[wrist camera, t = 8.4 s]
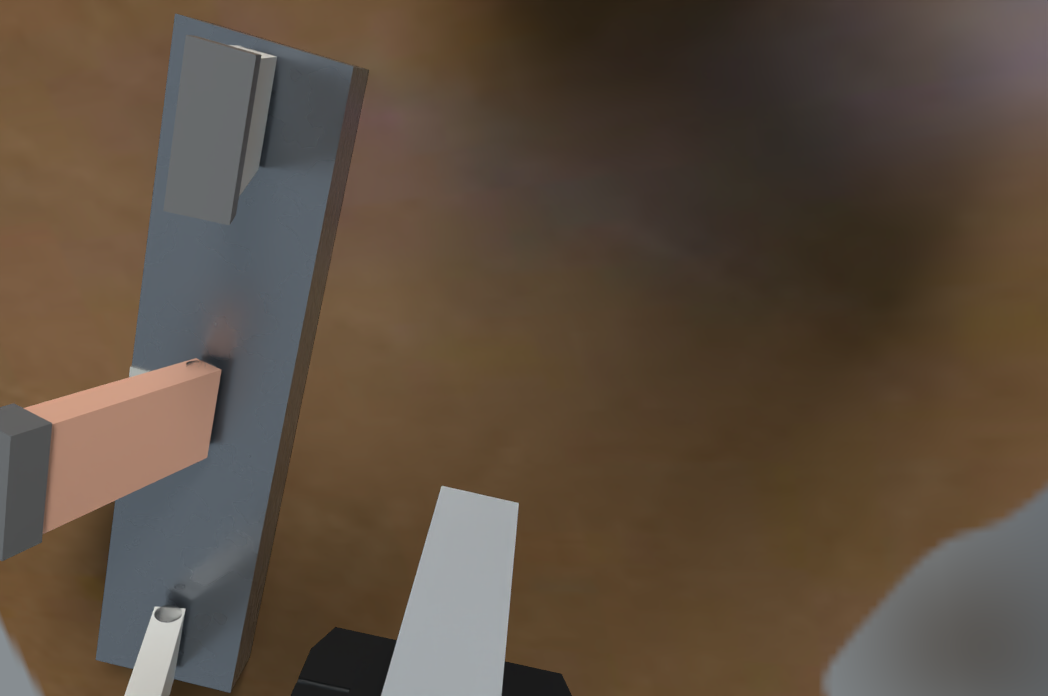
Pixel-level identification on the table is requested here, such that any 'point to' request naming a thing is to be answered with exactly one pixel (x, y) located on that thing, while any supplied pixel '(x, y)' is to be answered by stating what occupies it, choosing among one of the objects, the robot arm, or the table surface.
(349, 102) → the switch panel
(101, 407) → the lever middle
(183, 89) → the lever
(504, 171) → the table surface
